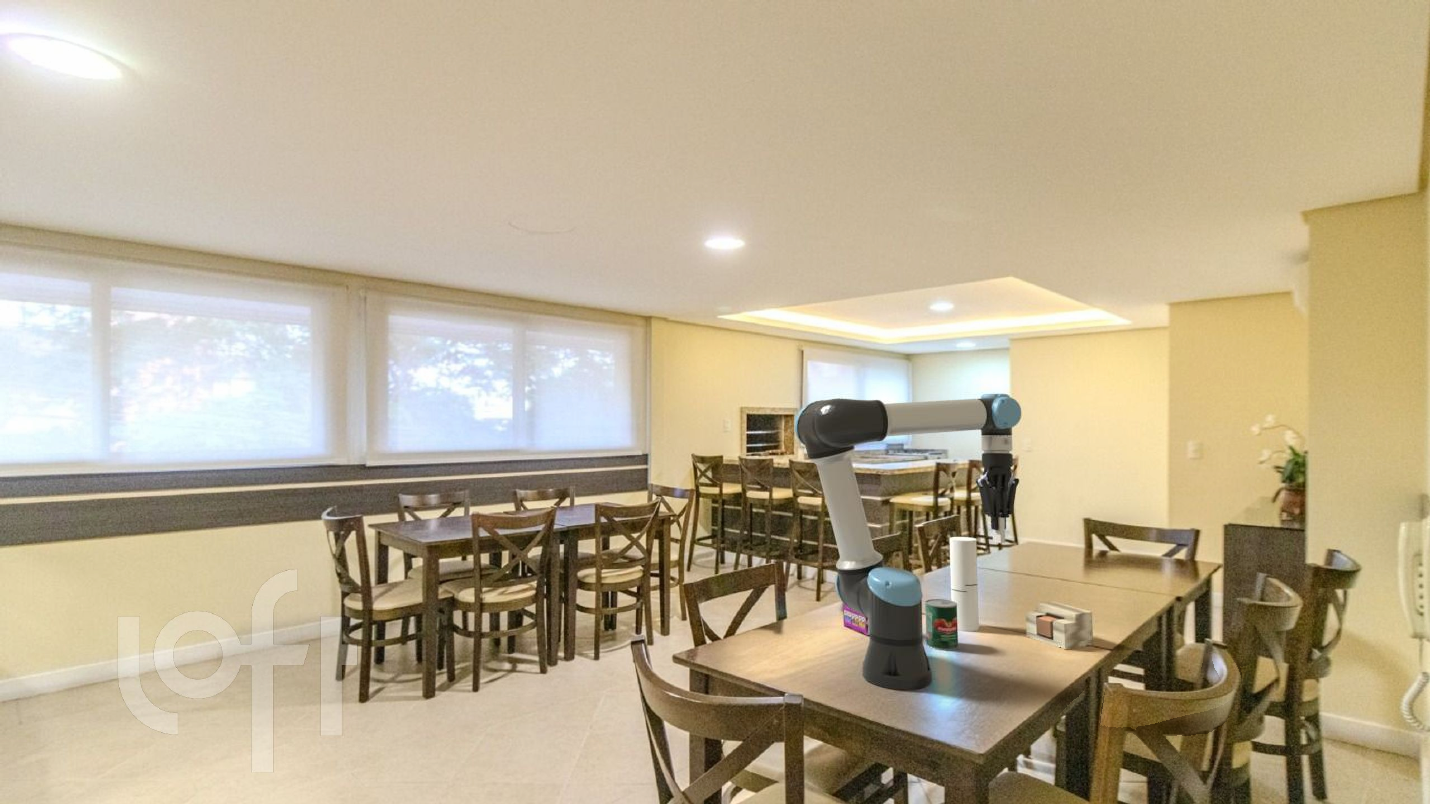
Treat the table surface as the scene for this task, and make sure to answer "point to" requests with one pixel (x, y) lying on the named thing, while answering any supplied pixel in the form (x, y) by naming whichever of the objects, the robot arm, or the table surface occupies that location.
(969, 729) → the table surface
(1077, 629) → the sleeve
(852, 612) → the candy bar box
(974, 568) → the cylindrical container
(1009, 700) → the table surface
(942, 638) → the canned tomato
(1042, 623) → the peg
